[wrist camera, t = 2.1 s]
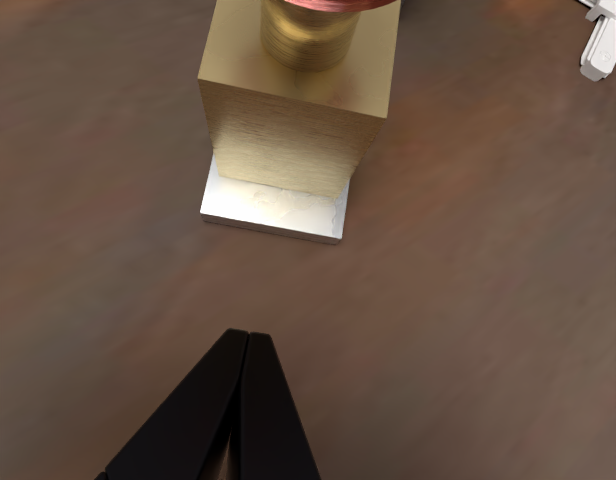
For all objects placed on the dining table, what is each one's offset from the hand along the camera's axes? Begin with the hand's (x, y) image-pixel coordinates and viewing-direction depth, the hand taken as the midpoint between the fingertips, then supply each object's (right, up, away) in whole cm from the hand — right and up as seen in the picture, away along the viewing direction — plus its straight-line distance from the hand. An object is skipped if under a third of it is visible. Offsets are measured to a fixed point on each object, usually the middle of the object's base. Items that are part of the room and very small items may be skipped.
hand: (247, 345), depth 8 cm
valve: (0, +8, +13) cm, 16 cm away
